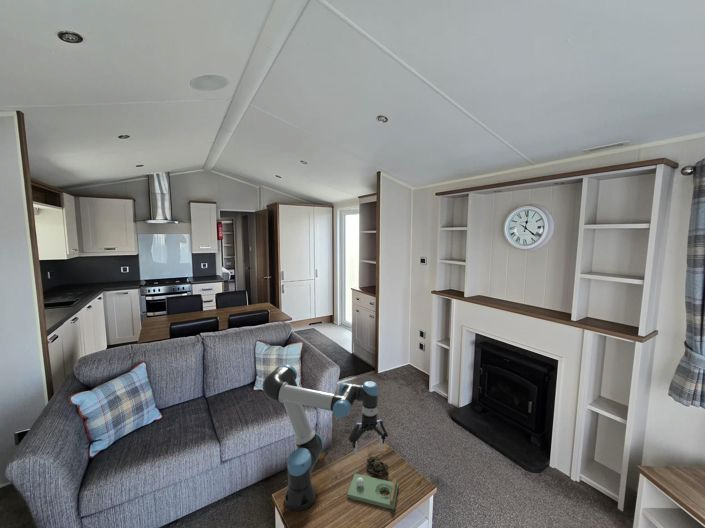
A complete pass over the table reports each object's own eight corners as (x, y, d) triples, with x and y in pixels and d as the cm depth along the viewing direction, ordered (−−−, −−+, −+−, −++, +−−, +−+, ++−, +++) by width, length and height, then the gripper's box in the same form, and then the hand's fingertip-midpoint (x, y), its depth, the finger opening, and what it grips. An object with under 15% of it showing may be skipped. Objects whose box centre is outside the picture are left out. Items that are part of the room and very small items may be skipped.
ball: (355, 487, 164) (355, 480, 163) (357, 481, 167) (357, 474, 167) (362, 489, 162) (363, 482, 162) (364, 483, 166) (364, 476, 166)
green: (347, 497, 160) (347, 489, 159) (354, 476, 173) (354, 469, 173) (394, 509, 153) (394, 501, 153) (398, 486, 166) (398, 479, 166)
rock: (383, 483, 169) (394, 467, 175) (371, 468, 170) (381, 452, 176) (373, 480, 180) (383, 465, 185) (361, 466, 180) (371, 451, 186)
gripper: (347, 420, 151) (346, 460, 154) (395, 413, 158) (393, 452, 161) (343, 411, 159) (342, 449, 161) (389, 405, 165) (388, 442, 168)
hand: (368, 451), depth 161 cm, fingers open, 13 cm apart
